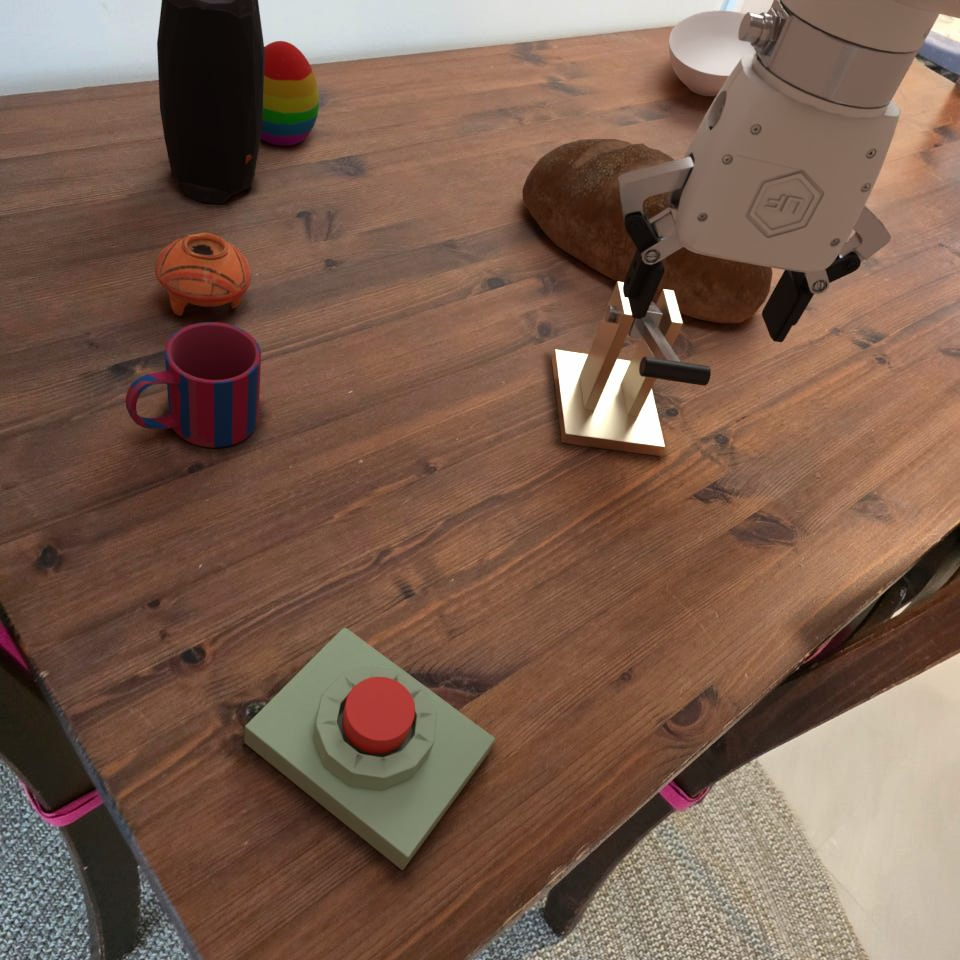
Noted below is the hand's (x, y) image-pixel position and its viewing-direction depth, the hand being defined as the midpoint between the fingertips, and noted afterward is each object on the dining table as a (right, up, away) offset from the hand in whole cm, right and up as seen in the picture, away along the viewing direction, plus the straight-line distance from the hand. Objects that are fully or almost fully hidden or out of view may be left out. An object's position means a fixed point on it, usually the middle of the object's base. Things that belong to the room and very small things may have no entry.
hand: (703, 317), depth 59 cm
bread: (+2, +14, +39) cm, 42 cm away
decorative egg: (-37, +28, +41) cm, 62 cm away
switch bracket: (-4, -4, +22) cm, 22 cm away
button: (-21, -25, -7) cm, 33 cm away
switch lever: (-1, -1, +11) cm, 11 cm away
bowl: (+20, +50, +78) cm, 95 cm away
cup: (-37, -6, +10) cm, 39 cm away
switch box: (-22, -27, -4) cm, 35 cm away
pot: (-39, +5, +20) cm, 44 cm away
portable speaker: (-42, +19, +32) cm, 56 cm away
